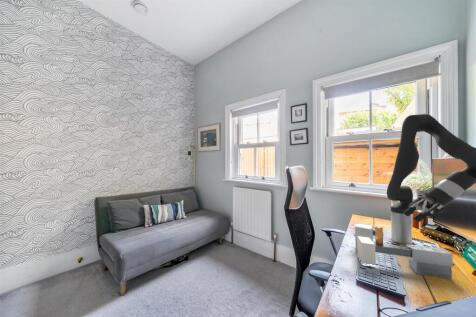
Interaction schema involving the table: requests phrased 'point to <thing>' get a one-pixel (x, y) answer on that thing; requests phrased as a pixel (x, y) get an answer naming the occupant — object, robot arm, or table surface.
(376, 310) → the table surface
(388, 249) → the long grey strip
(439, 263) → the grey sleeve
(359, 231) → the supplement box
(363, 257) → the socket block
